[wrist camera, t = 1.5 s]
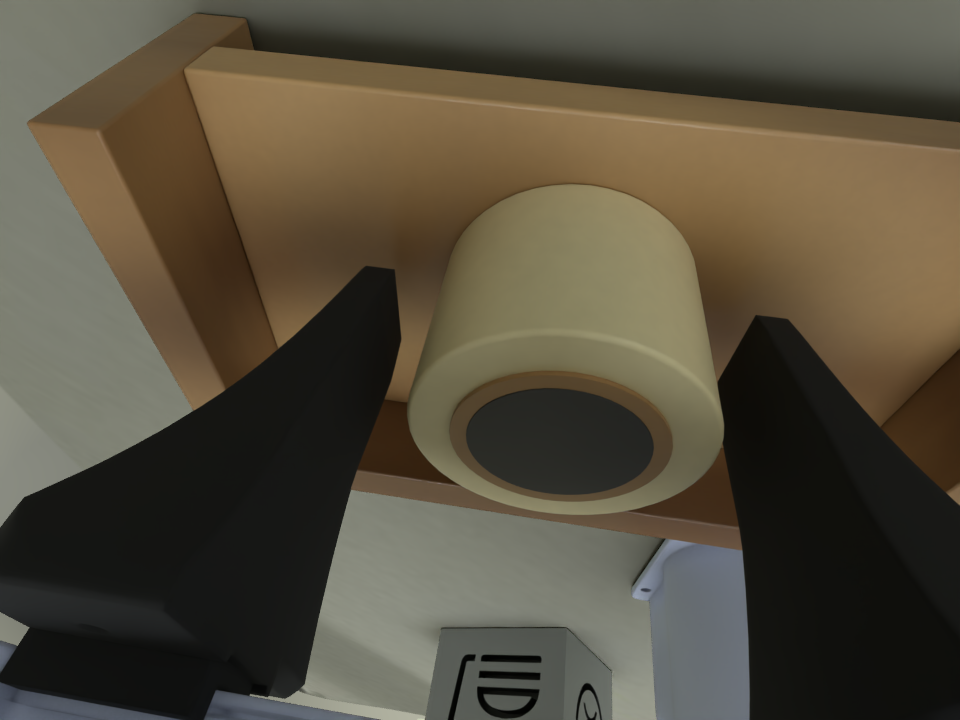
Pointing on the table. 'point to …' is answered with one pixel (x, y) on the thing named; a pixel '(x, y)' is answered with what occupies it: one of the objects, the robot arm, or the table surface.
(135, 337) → the table surface
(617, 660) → the table surface
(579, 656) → the icon cube
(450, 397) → the tape roll
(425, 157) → the shelf
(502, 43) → the table surface
